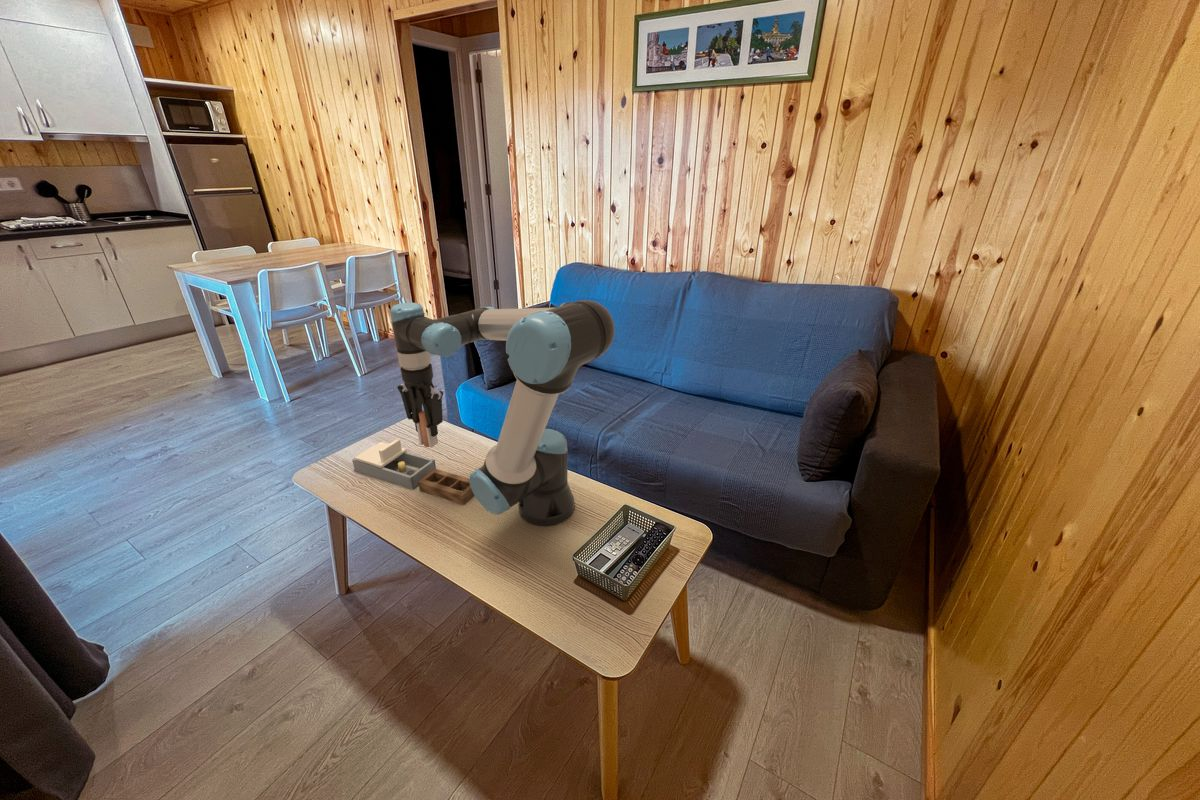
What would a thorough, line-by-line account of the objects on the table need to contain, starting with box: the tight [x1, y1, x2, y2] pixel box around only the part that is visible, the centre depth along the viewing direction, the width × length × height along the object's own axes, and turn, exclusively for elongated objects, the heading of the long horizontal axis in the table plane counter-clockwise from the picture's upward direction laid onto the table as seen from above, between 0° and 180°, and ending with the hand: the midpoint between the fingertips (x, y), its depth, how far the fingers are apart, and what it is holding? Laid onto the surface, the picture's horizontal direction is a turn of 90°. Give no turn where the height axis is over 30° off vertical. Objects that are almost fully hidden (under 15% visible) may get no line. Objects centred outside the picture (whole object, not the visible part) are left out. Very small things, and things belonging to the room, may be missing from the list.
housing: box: [351, 451, 437, 490], centre depth 140 cm, size 22×10×4 cm, turn 67°
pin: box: [419, 410, 430, 448], centre depth 126 cm, size 3×3×10 cm
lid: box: [353, 438, 408, 468], centre depth 139 cm, size 10×10×5 cm
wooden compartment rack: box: [417, 468, 475, 505], centre depth 132 cm, size 15×7×3 cm, turn 67°
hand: (429, 443), depth 128 cm, fingers closed on pin, 2 cm apart
